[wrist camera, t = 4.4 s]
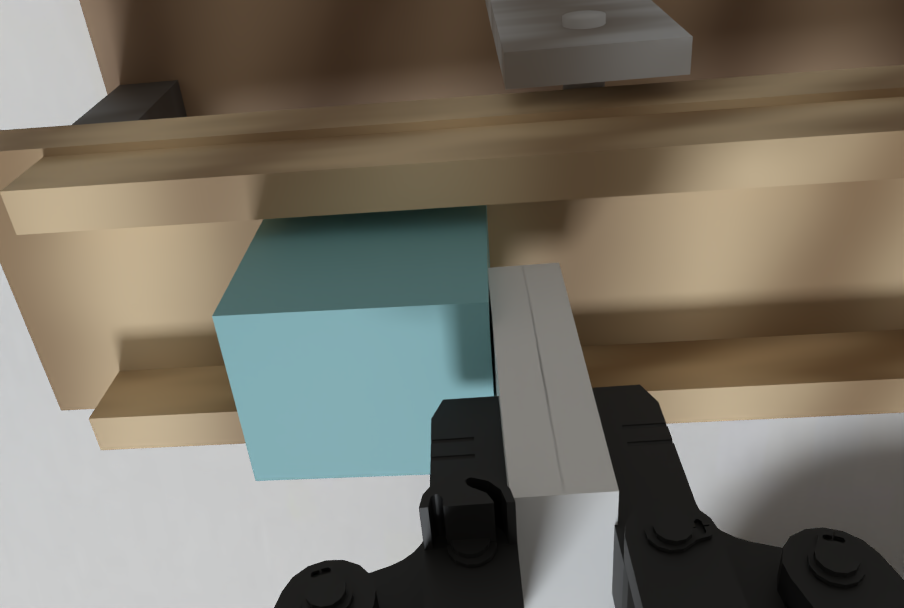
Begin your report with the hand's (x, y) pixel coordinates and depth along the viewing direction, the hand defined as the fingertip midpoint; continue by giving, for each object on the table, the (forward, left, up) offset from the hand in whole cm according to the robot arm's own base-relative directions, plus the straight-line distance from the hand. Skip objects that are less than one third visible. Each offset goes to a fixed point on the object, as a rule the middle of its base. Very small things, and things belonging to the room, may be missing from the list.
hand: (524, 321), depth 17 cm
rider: (+3, 0, -3) cm, 4 cm away
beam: (-2, 0, -5) cm, 5 cm away
